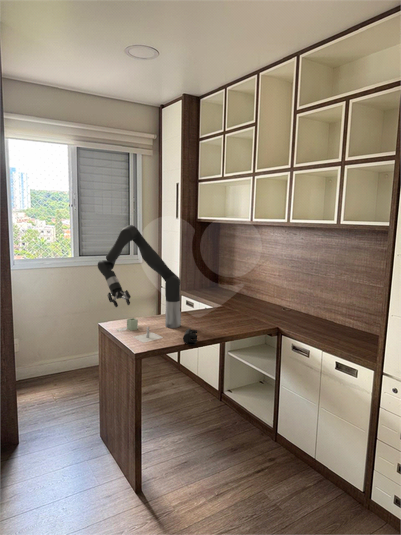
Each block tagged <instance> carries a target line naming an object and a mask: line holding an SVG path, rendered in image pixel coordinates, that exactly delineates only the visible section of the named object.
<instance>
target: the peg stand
mask: <svg viewBox="0 0 401 535" xmlns="http://www.w3.org/2000/svg"><path fill="white" fill-rule="evenodd" d="M132 338H133V339H135V340H137V341H139V342H140V343H142V344H144V343H148V342H152V341H156V340H160V339H163V338H164V337H163V336H161V335H159V334H157V333H154V332H150V326H146V333H144V334H140V335H135V336H132Z"/></svg>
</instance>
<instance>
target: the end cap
mask: <svg viewBox="0 0 401 535" xmlns="http://www.w3.org/2000/svg"><path fill="white" fill-rule="evenodd" d="M182 341H183V343H185V344H186V345H188V346H196V345H197V341H198V330H197V329H192V328H188V329H186V330H185V332H184V335H183V336H182Z"/></svg>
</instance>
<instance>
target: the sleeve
mask: <svg viewBox="0 0 401 535" xmlns="http://www.w3.org/2000/svg"><path fill="white" fill-rule="evenodd" d="M138 323H139V321H138V319H137V318H135V317H132V318H126V327H127V330H129V331H137V330H138V329H139V326H138Z"/></svg>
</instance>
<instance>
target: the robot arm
mask: <svg viewBox="0 0 401 535" xmlns="http://www.w3.org/2000/svg"><path fill="white" fill-rule="evenodd" d="M132 241H133V243H134V244H135V245H136V246H137V248H138V250H139V253H140V255H141V258H142V259H143V261H144V262H145V263H146V264H147V266H148V267H150V269H152V270H153V271H155V273H157V274H159V276H160V277H161V278H162V280H163V281H164V282H165V283H164V284H165V285H164V294H165V323H164V324H165V325H164V326H165V327H166V328H167V329H177V328H179V327H180V326H182V312H181V295H180V292H181V289H180V288H181V287H180V286H181V279H180V277H179V276H178V275H177V274H176V273H174V272H173V271H172V270H171V268H169V266H168V265H167V264H166V262H165V261H164V260H163V259H162V258H161V256H160V255H159V253H157V251H156V250H154V248H153V247H152V246H151V245H150V243H149V242H148V241H147V240H146V239H145V237H143V235H142V234H141V232H140V231H139V229H138V228H137V227H136V226H135V225H132V224H128V225H127V226H125V227H123V228H122V229H121V230H120V232H119V234H118V236H117V239H116V241H115V242H114V244H113V245H112V247H111V249H110V250H109V251H108V252H107V254H106V255H105V259H106V260H105V259H101V260H99V261H98V262H97V269H98V271H99V272H100V273H101V274H102V275H103V277H104V278H105V279H104V280H106V283H107V284H106V285H107V286H108V288H109V289H108V290H109V291H110V292H108V293H107V295H106V296H107V299H108V300H109V303H113V305H114V307H115V308H118V307H119V304H118V302H117V300H118V299H123V300H125V303H126V304H127V306H130V305H131V301H130V299H131V294H130V293H129V290H123V287H122V285H121V283H120V281H119V279H118V278H117V274H116V273H115V271H113V269H114V267H115V264H116V262H117V260H118V258H119V257H120V255H121V254H122V252H123V249H124V247H125V246H127V245H128V244H129V243H130V242H132Z"/></svg>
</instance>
